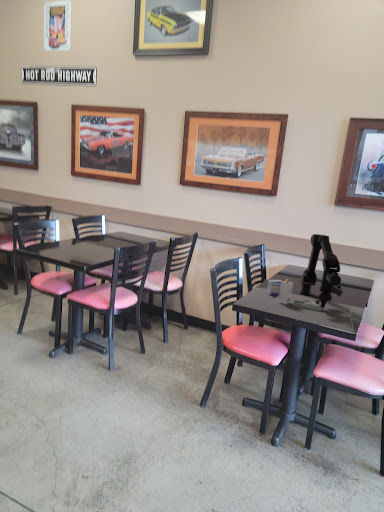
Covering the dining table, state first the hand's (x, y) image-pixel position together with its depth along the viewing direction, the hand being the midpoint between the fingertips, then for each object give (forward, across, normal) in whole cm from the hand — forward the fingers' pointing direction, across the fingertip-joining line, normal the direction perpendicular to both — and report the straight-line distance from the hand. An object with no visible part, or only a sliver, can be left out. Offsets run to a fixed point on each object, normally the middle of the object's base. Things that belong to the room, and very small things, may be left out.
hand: (323, 307), depth 203 cm
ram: (+1, 0, +6) cm, 6 cm away
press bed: (+2, +4, +13) cm, 14 cm away
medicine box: (+3, +17, +29) cm, 33 cm away
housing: (+1, 0, +21) cm, 21 cm away
